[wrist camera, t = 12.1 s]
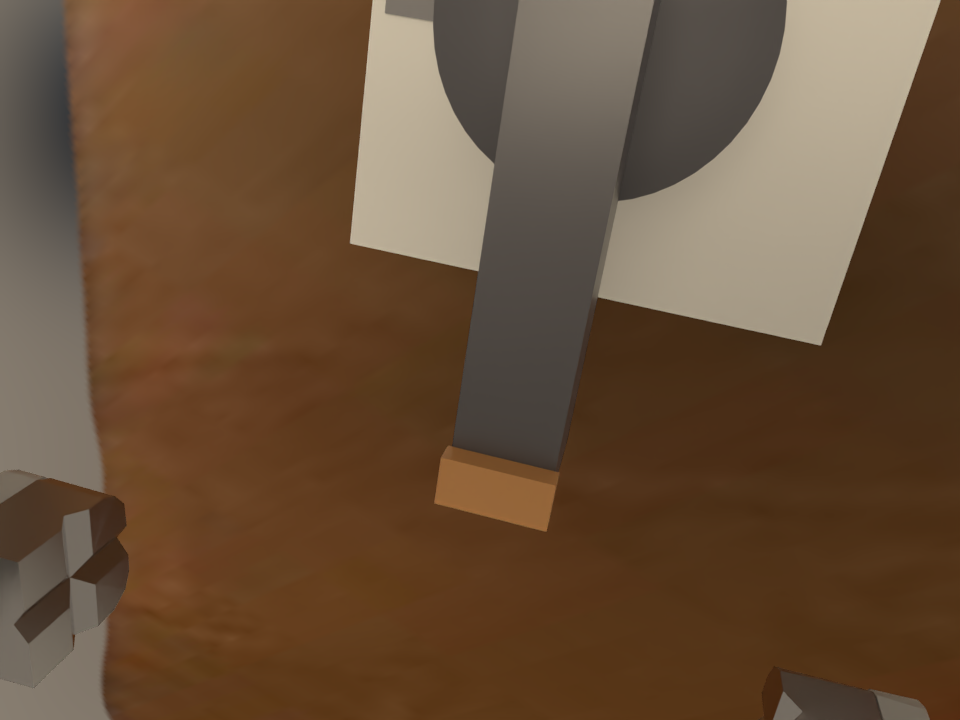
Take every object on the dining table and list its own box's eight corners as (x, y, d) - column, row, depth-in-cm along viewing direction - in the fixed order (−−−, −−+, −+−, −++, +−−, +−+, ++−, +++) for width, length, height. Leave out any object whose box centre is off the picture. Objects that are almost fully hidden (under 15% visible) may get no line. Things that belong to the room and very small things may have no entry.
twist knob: (477, -175, 19) (383, -283, 13) (820, -134, 18) (897, -233, 12) (410, 372, 25) (322, 478, 19) (668, 431, 24) (666, 566, 17)
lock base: (1011, -245, 26) (1247, -451, 15) (814, 333, 33) (879, 462, 23) (416, -309, 28) (266, -518, 18) (362, 236, 36) (235, 310, 26)
